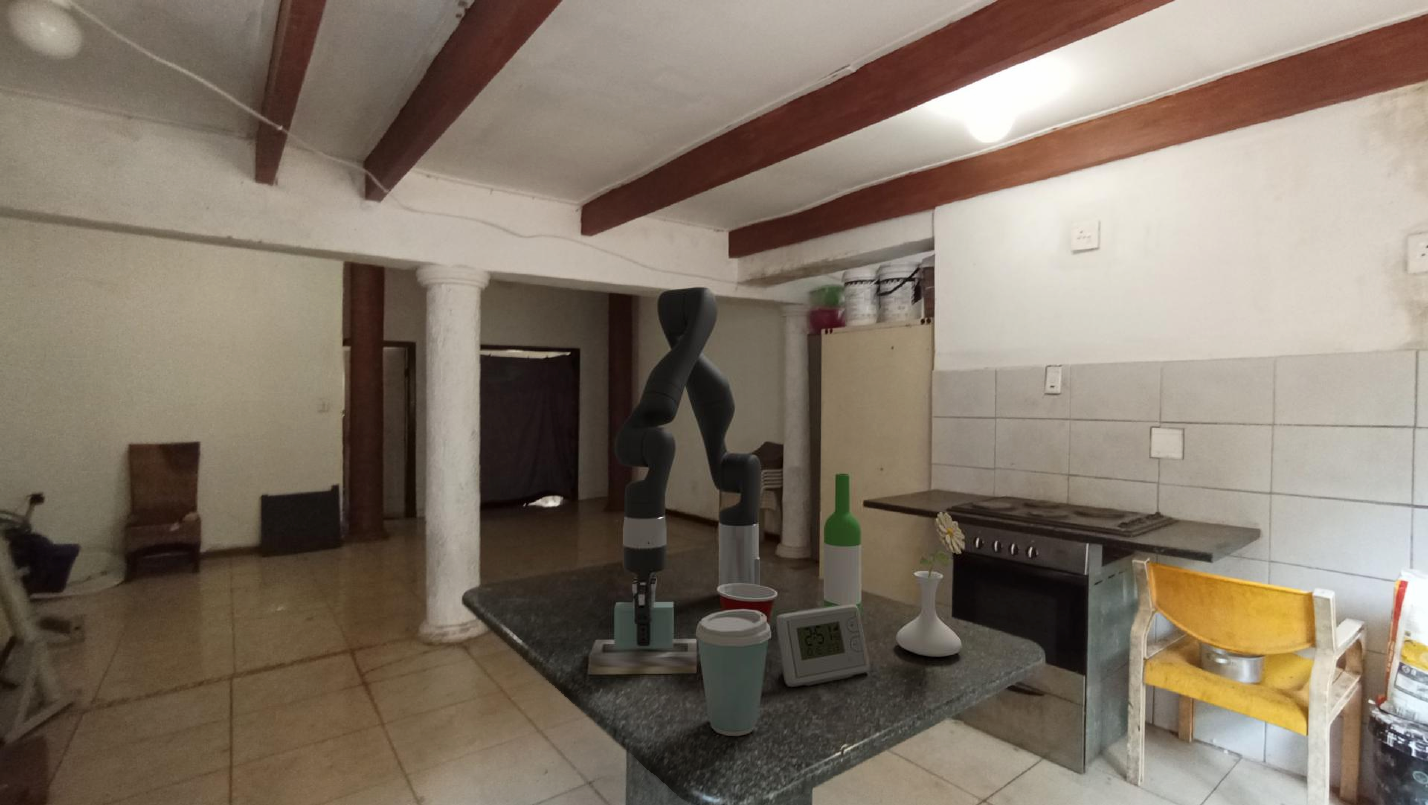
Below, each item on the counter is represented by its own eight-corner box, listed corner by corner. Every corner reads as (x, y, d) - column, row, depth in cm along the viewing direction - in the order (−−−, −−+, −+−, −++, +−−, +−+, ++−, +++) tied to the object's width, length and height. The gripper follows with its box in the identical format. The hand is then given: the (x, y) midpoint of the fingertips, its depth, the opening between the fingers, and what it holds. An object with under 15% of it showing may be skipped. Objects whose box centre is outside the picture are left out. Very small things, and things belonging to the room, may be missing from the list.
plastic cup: (790, 660, 111) (790, 591, 111) (738, 673, 105) (738, 601, 105) (754, 640, 120) (754, 577, 120) (705, 652, 114) (705, 585, 114)
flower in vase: (924, 667, 108) (924, 520, 108) (883, 643, 118) (883, 510, 119) (983, 656, 113) (983, 515, 113) (938, 634, 123) (938, 506, 123)
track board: (696, 650, 115) (696, 636, 115) (696, 673, 105) (696, 658, 105) (596, 651, 115) (596, 637, 115) (587, 674, 105) (587, 659, 105)
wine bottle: (835, 607, 140) (835, 471, 140) (867, 615, 134) (867, 473, 135) (816, 616, 134) (816, 474, 134) (849, 624, 129) (849, 477, 129)
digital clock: (783, 691, 99) (783, 623, 99) (767, 668, 108) (767, 605, 108) (880, 682, 102) (880, 616, 102) (856, 660, 111) (856, 599, 111)
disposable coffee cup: (701, 748, 82) (701, 632, 82) (690, 709, 93) (690, 606, 93) (780, 741, 84) (780, 627, 84) (760, 703, 94) (760, 602, 95)
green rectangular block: (673, 641, 112) (673, 602, 112) (672, 648, 108) (672, 607, 108) (616, 642, 111) (616, 602, 111) (614, 649, 108) (614, 608, 108)
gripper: (664, 550, 103) (664, 657, 103) (668, 533, 117) (667, 627, 117) (618, 551, 103) (617, 657, 103) (627, 533, 117) (627, 627, 117)
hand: (644, 640), depth 110 cm, fingers closed on green rectangular block, 3 cm apart
